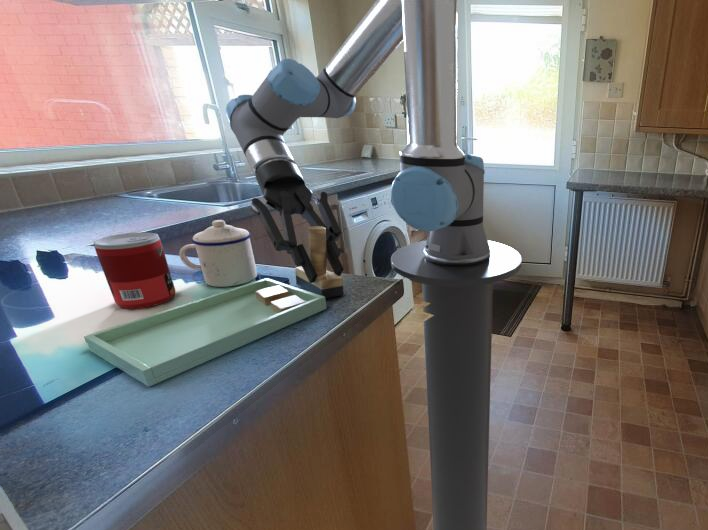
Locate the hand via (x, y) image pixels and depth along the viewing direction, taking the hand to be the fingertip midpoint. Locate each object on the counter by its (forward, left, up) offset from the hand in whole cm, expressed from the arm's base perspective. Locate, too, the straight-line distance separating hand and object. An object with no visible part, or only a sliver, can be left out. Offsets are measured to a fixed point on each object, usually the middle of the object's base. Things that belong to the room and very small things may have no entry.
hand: (327, 275), depth 74 cm
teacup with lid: (+6, -23, -4) cm, 24 cm away
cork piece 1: (+7, -5, -3) cm, 10 cm away
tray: (+17, -4, -4) cm, 18 cm away
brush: (0, -3, -4) cm, 5 cm away
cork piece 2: (+9, +1, -3) cm, 9 cm away
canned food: (+18, -24, -4) cm, 30 cm away
